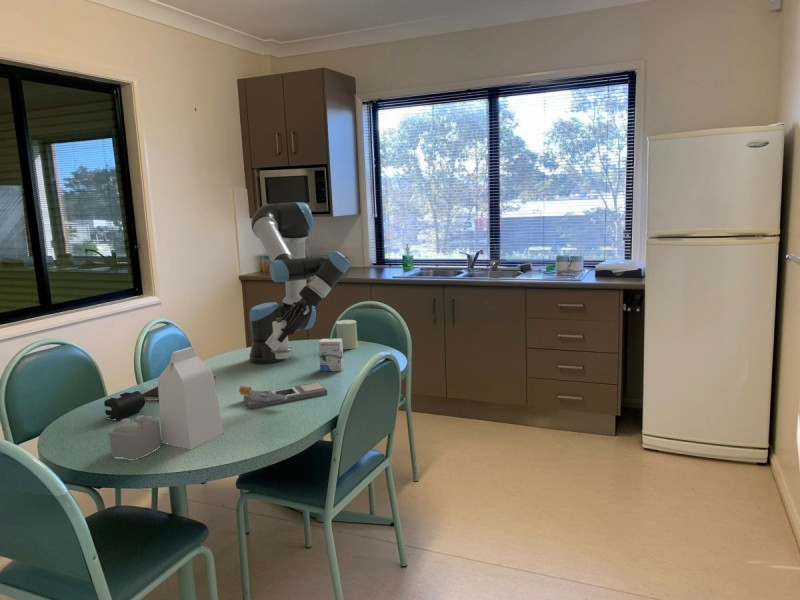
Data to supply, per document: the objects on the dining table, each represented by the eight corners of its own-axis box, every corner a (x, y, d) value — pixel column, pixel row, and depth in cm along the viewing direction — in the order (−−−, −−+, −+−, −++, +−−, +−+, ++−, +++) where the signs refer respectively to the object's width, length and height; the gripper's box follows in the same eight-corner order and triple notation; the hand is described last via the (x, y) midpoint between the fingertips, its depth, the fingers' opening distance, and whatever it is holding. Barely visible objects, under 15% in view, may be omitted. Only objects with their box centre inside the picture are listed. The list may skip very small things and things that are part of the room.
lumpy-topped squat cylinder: (106, 457, 159) (102, 427, 157) (141, 438, 171) (137, 409, 169) (137, 461, 155) (133, 430, 154) (171, 441, 167) (167, 412, 166)
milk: (190, 449, 161) (179, 357, 156) (162, 443, 166) (150, 353, 162) (223, 433, 171) (214, 346, 167) (195, 427, 177) (185, 343, 172)
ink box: (319, 371, 227) (317, 342, 225) (322, 368, 232) (320, 338, 230) (342, 371, 227) (339, 341, 225) (344, 367, 232) (342, 338, 229)
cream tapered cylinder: (334, 350, 259) (332, 323, 257) (340, 344, 268) (338, 318, 266) (355, 350, 257) (353, 323, 255) (360, 344, 266) (358, 318, 264)
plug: (269, 356, 199) (266, 317, 197) (289, 353, 202) (286, 315, 200) (274, 361, 193) (271, 321, 191) (295, 357, 196) (291, 318, 194)
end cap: (121, 422, 185) (118, 401, 183) (105, 419, 187) (102, 399, 186) (146, 411, 193) (144, 391, 192) (131, 409, 196) (128, 389, 195)
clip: (243, 392, 200) (243, 384, 200) (289, 399, 190) (289, 392, 190) (237, 395, 198) (236, 387, 197) (283, 403, 188) (282, 395, 187)
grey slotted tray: (243, 400, 199) (243, 392, 199) (318, 386, 210) (317, 378, 209) (249, 409, 190) (249, 400, 190) (327, 394, 201) (326, 386, 200)
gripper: (299, 281, 205) (255, 335, 202) (314, 288, 190) (267, 346, 186) (314, 295, 209) (272, 347, 205) (331, 302, 193) (285, 359, 189)
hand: (270, 346), depth 195 cm, fingers closed on plug, 4 cm apart
